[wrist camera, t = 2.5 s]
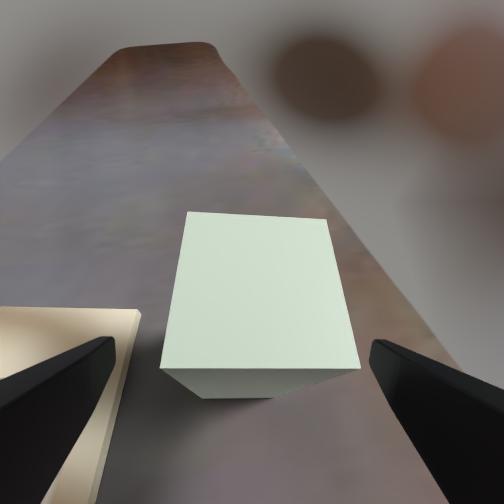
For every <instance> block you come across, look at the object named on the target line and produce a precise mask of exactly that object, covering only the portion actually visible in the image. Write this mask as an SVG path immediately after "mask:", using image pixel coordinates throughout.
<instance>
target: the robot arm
mask: <svg viewBox="0 0 504 504" xmlns="http://www.w3.org/2000/svg"><path fill="white" fill-rule="evenodd" d="M115 363H116V348H115V339H114V337H112V336H100V337H97V338H95V339H93V340H90V341H88V342H86V343H83V344H81V345H79V346H77V347H74V348H72V349H70V350H67V351H65V352H63V353H61V354H58V355H56V356H54V357H51V358H49V359H47V360H45V361H42V362H40V363H38V364H35V365H33V366H31V367H29V368H26V369H24V370H22V371H19V372H17V373H15V374H13V375H10V376H8V377H6V378H3V379H1V380H0V504H41V502H42V500H43V499H44V497H45V495H46V493H47V492H48V490H49V488H50V487H51V485H52V483H53V481H54V480H55V478H56V476H57V475H58V473H59V471H60V469H61V468H62V466H63V464H64V462H65V461H66V459H67V457H68V456H69V454H70V452H71V450H72V449H73V447H74V445H75V444H76V442H77V440H78V438H79V437H80V435H81V433H82V431H83V430H84V428H85V426H86V425H87V423H88V421H89V419H90V417H91V416H92V414H93V412H94V410H95V408H96V406H97V404H98V402H99V399H100V397H101V395H102V393H103V391H104V388H105V386H106V384H107V382H108V380H109V378H110V375H111V373H112V371H113V369H114V366H115ZM369 364H370V367H371V369H372V371H373V373H374V375H375V377H376V379H377V381H378V383H379V385H380V387H381V389H382V391H383V393H384V395H385V397H386V399H387V401H388V403H389V405H390V407H391V409H392V411H393V412H394V414H395V416H396V417H397V419H398V421H399V422H400V424H401V425H402V427H403V429H404V430H405V432H406V434H407V435H408V437H409V439H410V440H411V442H412V443H413V445H414V447H415V448H416V450H417V452H418V453H419V455H420V456H421V458H422V460H423V461H424V463H425V465H426V466H427V468H428V470H429V471H430V473H431V474H432V476H433V478H434V479H435V481H436V483H437V484H438V486H439V487H440V489H441V491H442V492H443V494H444V496H445V497H446V499H447V500H448V502H449V504H504V390H503V389H501V388H498V387H496V386H494V385H491V384H489V383H487V382H484V381H482V380H480V379H477V378H475V377H472V376H470V375H468V374H466V373H463V372H461V371H458V370H456V369H454V368H451V367H449V366H447V365H444V364H442V363H440V362H437V361H435V360H433V359H430V358H428V357H426V356H423V355H421V354H419V353H416V352H414V351H412V350H409V349H407V348H404V347H402V346H400V345H397V344H395V343H393V342H390V341H388V340H385V339H375V340H373V342H372V346H371V351H370V357H369Z"/></svg>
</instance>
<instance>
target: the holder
mask: <svg viewBox="0 0 504 504" xmlns="http://www.w3.org/2000/svg"><path fill="white" fill-rule="evenodd" d="M140 317H141V314H140V312H139V311H138V310H137V309H91V308H45V307H0V380H1V379H3V378H6V377H8V376H10V375H13V374H15V373H17V372H19V371H22V370H24V369H26V368H29V367H31V366H33V365H35V364H38V363H40V362H42V361H45V360H47V359H49V358H51V357H54V356H56V355H58V354H61V353H63V352H65V351H67V350H70V349H72V348H74V347H77V346H79V345H81V344H83V343H86V342H88V341H90V340H93V339H95V338H97V337H100V336H112V337H114V339H115V348H116V363H115V366H114V369H113V371H112V373H111V375H110V378H109V380H108V382H107V384H106V386H105V388H104V391H103V393H102V395H101V397H100V399H99V402H98V404H97V406H96V408H95V410H94V412H93V414H92V416H91V417H90V419H89V421H88V423H87V425H86V426H85V428H84V430H83V431H82V433H81V435H80V437H79V438H78V440H77V442H76V444H75V445H74V447H73V449H72V450H71V452H70V454H69V456H68V457H67V459H66V461H65V462H64V464H63V466H62V468H61V469H60V471H59V473H58V475H57V476H56V478H55V480H54V481H53V483H52V485H51V487H50V488H49V490H48V492H47V493H46V495H45V497H44V499H43V500H42V502H41V504H95V502H96V498H97V494H98V490H99V486H100V482H101V478H102V473H103V469H104V465H105V461H106V457H107V453H108V449H109V445H110V441H111V437H112V432H113V428H114V424H115V420H116V416H117V412H118V408H119V404H120V400H121V395H122V391H123V387H124V383H125V379H126V375H127V371H128V367H129V363H130V358H131V354H132V350H133V346H134V342H135V338H136V334H137V330H138V326H139V321H140Z"/></svg>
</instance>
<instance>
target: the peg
mask: <svg viewBox="0 0 504 504" xmlns="http://www.w3.org/2000/svg"><path fill="white" fill-rule="evenodd" d="M160 369H161V370H163V371H164V372H166V373H167V374H168V375H170V376H171V377H173V378H174V379H175V380H177V381H178V382H180V383H181V384H182V385H184V386H185V387H187V388H188V389H189V390H191V391H192V392H194V393H195V394H196V395H198V396H199V397H200V398H202V399H209V398H274V397H277V396H280V395H283V394H286V393H289V392H292V391H295V390H298V389H301V388H304V387H307V386H310V385H313V384H316V383H319V382H322V381H325V380H328V379H331V378H334V377H337V376H340V375H343V374H346V373H349V372H352V371H355V370H358V369H361V366H360V362H359V358H358V354H357V349H356V345H355V341H354V337H353V332H352V328H351V324H350V320H349V315H348V311H347V307H346V303H345V298H344V294H343V290H342V285H341V281H340V277H339V273H338V268H337V264H336V260H335V256H334V251H333V247H332V243H331V239H330V234H329V230H328V226H327V222H326V219H308V218H291V217H273V216H255V215H237V214H219V213H201V212H187V218H186V224H185V229H184V235H183V240H182V246H181V252H180V257H179V263H178V268H177V274H176V280H175V285H174V291H173V296H172V302H171V308H170V313H169V319H168V324H167V330H166V336H165V341H164V347H163V352H162V358H161V364H160Z"/></svg>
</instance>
